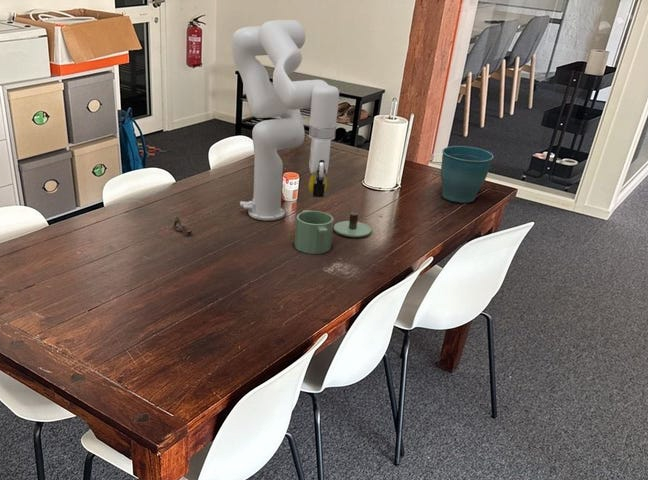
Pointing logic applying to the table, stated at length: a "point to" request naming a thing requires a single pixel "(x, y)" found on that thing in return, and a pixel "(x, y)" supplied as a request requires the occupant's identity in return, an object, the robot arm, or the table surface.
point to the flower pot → (463, 172)
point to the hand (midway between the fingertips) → (317, 192)
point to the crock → (313, 232)
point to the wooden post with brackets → (188, 232)
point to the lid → (352, 227)
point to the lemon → (312, 181)
